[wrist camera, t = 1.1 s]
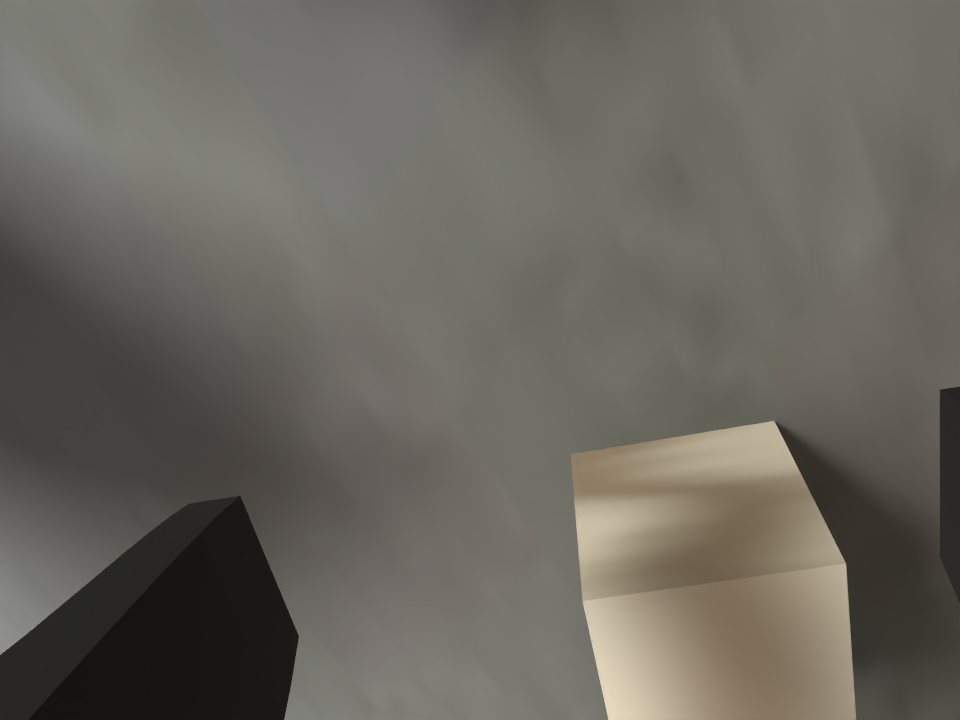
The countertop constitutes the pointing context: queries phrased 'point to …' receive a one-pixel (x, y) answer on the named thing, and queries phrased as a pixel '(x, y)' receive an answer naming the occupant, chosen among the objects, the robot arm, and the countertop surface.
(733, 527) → the ash block
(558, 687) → the countertop surface
